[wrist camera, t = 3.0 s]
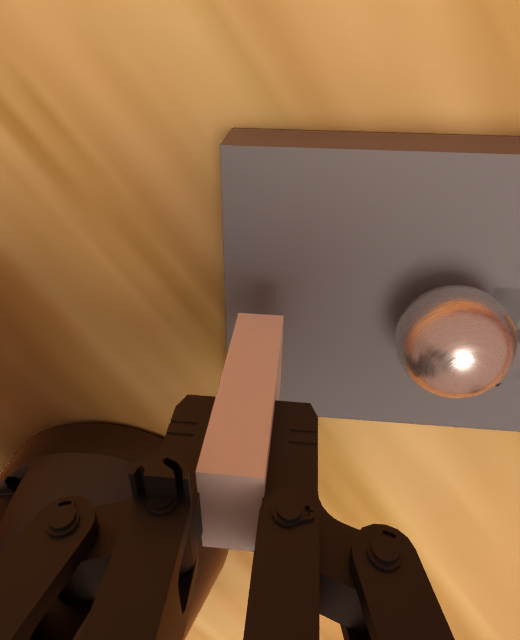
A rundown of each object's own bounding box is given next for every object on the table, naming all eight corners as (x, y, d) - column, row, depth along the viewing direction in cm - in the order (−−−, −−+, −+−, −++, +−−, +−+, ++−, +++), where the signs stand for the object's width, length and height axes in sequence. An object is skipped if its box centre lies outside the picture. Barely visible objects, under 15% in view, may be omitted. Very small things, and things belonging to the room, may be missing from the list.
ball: (381, 350, 20) (395, 418, 16) (396, 262, 18) (416, 320, 14) (480, 356, 19) (514, 427, 16) (508, 268, 17) (555, 328, 14)
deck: (237, 370, 25) (228, 410, 22) (232, 127, 18) (219, 145, 16) (639, 397, 23) (679, 443, 21) (787, 144, 17) (869, 165, 14)
